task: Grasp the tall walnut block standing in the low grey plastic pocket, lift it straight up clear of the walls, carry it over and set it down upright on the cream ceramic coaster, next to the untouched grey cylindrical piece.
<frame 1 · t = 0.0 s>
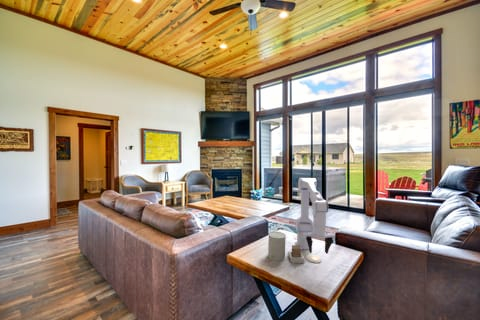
hand: (318, 252, 103), 10 cm above the table, fingers open, 7 cm apart
pocket: (296, 259, 115), on the table
coaster: (313, 259, 116), on the table
grey cylindrical piece: (276, 256, 118), on the table
walnut block: (296, 253, 115), in the pocket
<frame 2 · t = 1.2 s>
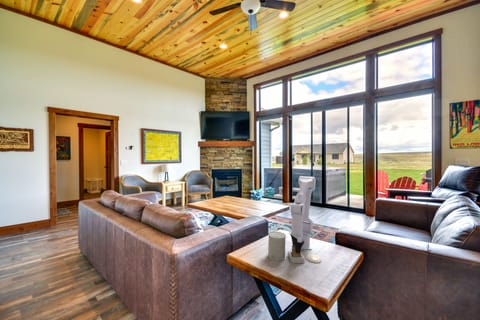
hand: (296, 249, 115), 5 cm above the table, fingers open, 7 cm apart
nothing on the table moved.
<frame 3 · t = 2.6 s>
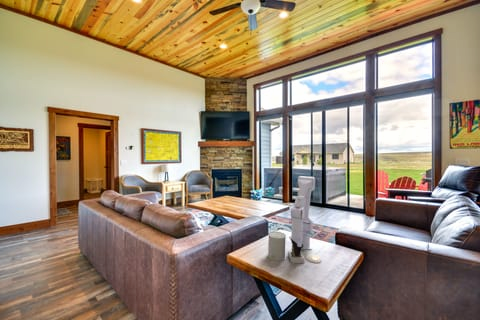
hand: (296, 253, 115), 3 cm above the table, fingers closed on walnut block, 4 cm apart
walnut block: (296, 253, 115), in the pocket, touching gripper
everything else where it was.
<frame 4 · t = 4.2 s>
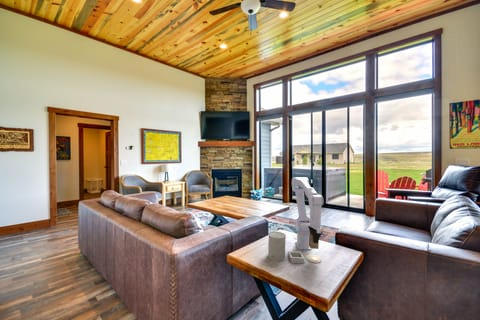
hand: (314, 241, 115), 10 cm above the table, fingers closed on walnut block, 4 cm apart
walnut block: (313, 240, 115), point 10 cm above the table, touching gripper
everything else where it was.
when the fingers open (5 cm above the table, at t = 5.9 s): walnut block drops 1 cm, resting on coaster.
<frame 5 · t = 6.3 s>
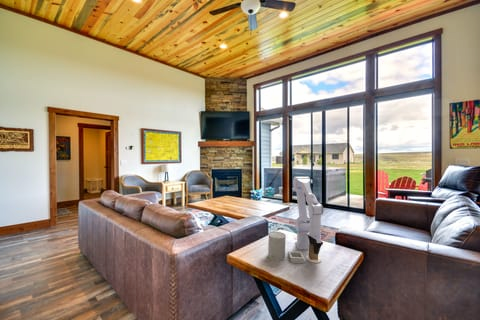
hand: (314, 250, 116), 5 cm above the table, fingers open, 7 cm apart
walnut block: (313, 251, 116), on the coaster, point 4 cm above the table
everything else where it was.
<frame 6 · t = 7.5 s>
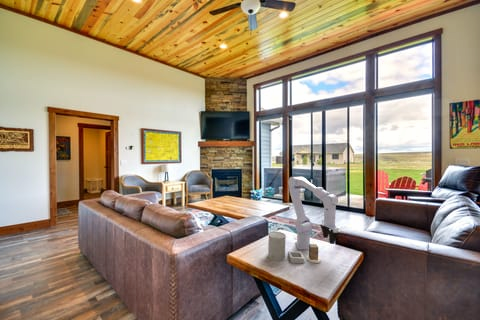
hand: (328, 240, 116), 10 cm above the table, fingers open, 7 cm apart
nothing on the table moved.
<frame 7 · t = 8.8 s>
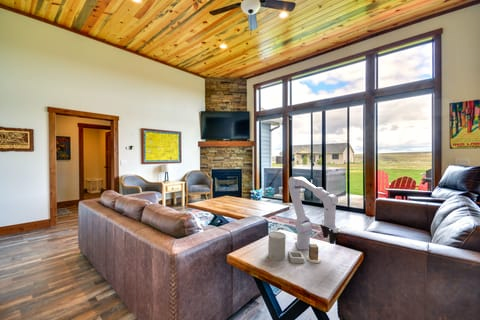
hand: (328, 240, 116), 10 cm above the table, fingers open, 7 cm apart
nothing on the table moved.
at the end: walnut block inside the target area on the coaster (0.4 cm from its centre), point 4.1 cm above the coaster's base; walnut block tilted 0°; the gripper is holding nothing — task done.
